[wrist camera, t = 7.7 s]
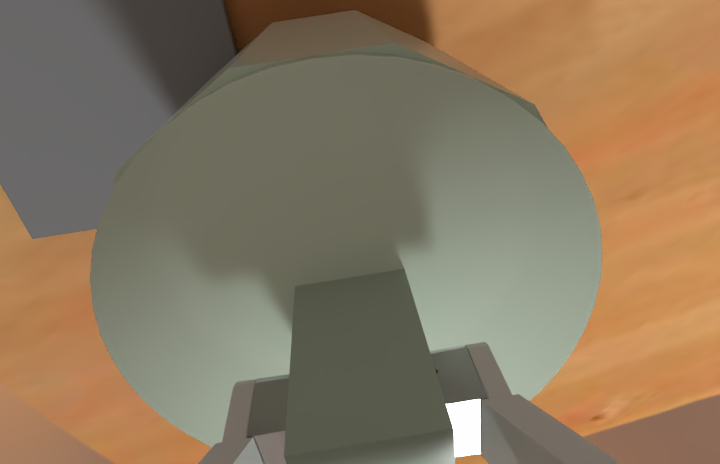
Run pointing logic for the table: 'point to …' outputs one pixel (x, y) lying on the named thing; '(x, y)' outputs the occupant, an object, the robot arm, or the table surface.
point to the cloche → (343, 242)
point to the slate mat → (93, 95)
